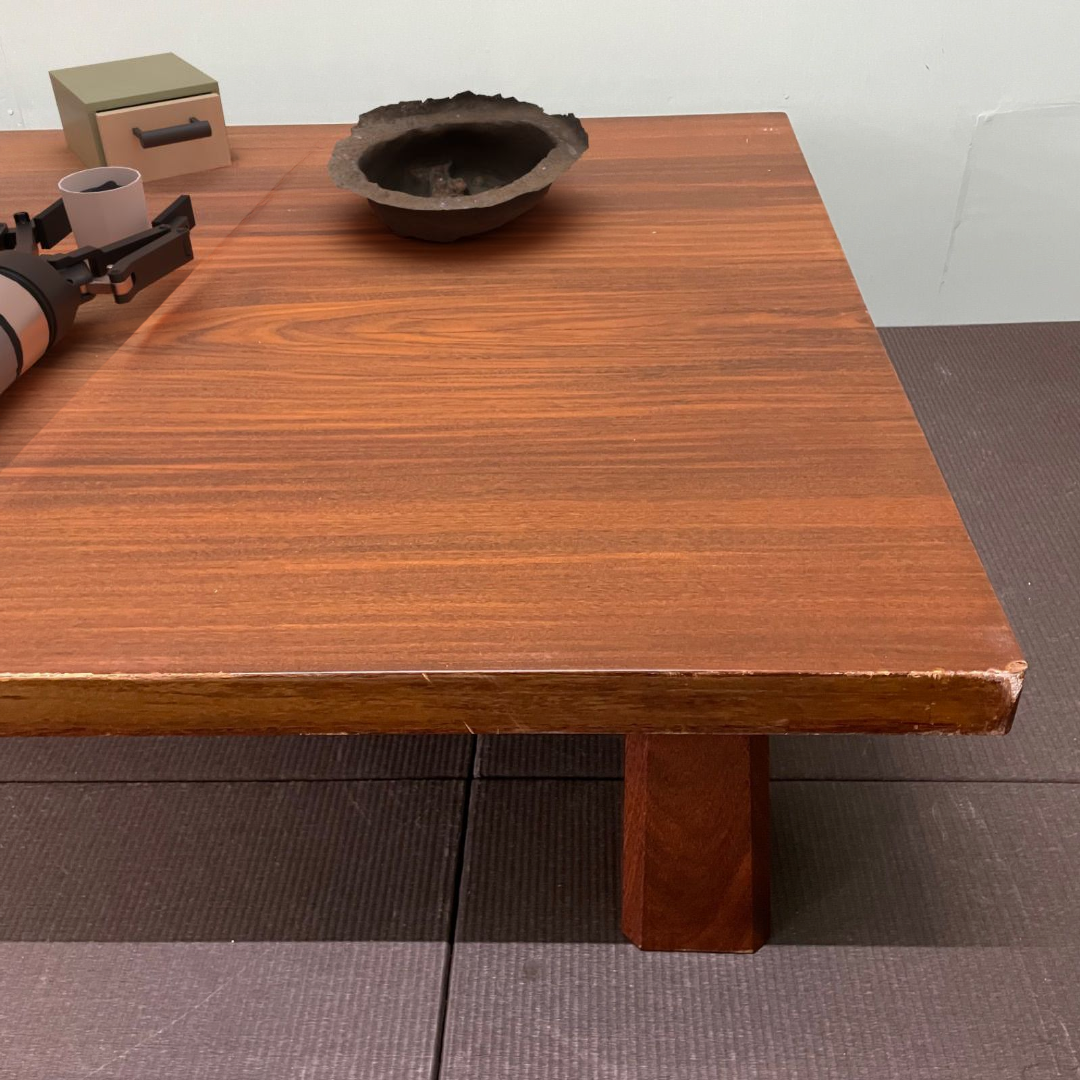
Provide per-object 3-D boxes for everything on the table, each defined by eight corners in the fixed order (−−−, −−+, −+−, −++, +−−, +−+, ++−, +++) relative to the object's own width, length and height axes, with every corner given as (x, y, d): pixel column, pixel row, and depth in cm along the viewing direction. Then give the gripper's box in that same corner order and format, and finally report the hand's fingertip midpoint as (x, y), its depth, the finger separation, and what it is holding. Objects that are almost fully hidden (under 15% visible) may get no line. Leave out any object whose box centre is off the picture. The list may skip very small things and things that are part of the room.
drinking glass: (89, 282, 105) (60, 171, 99) (165, 273, 106) (141, 163, 100) (86, 312, 99) (55, 197, 94) (166, 302, 101) (140, 188, 95)
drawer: (247, 182, 123) (234, 105, 118) (129, 207, 118) (110, 127, 113) (189, 137, 136) (176, 66, 132) (80, 157, 131) (62, 84, 126)
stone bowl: (532, 160, 128) (533, 74, 123) (621, 258, 110) (628, 162, 105) (310, 187, 122) (299, 98, 116) (366, 296, 104) (357, 196, 98)
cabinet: (234, 174, 128) (217, 81, 122) (108, 199, 122) (85, 103, 117) (188, 138, 139) (171, 52, 133) (71, 160, 133) (48, 71, 128)
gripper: (-120, 356, 88) (26, 245, 106) (159, 370, 86) (261, 253, 103) (-157, 262, 84) (2, 162, 102) (136, 273, 81) (246, 168, 99)
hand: (132, 208), depth 103 cm, fingers open, 10 cm apart
